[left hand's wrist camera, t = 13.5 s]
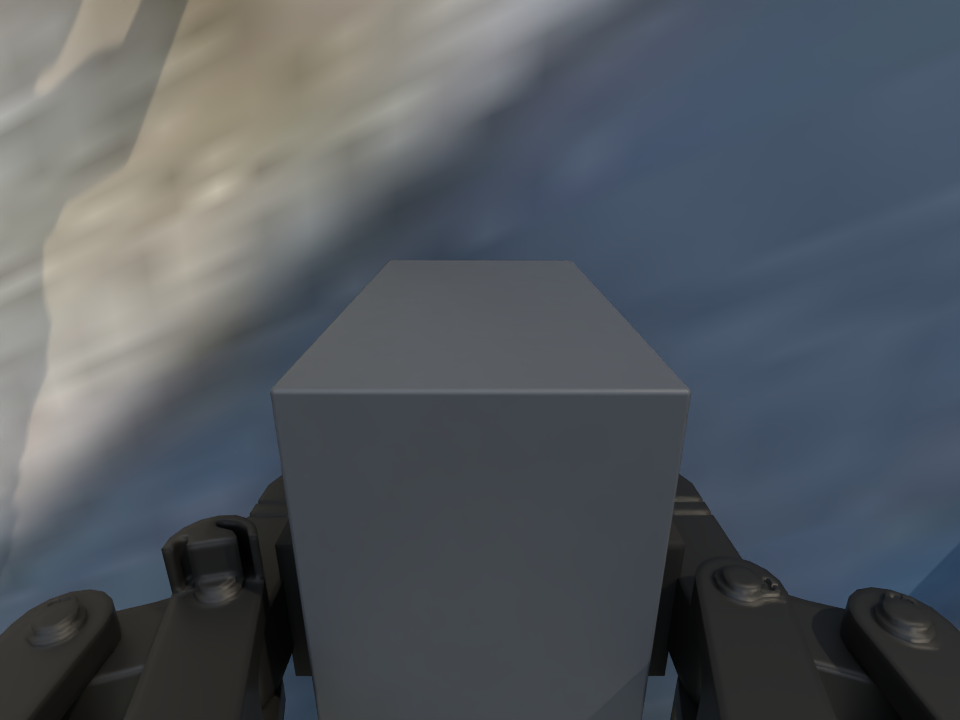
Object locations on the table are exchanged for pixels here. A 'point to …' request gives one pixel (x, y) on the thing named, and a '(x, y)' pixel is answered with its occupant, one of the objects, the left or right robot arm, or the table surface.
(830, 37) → the table surface
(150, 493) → the table surface
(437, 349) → the post
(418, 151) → the table surface
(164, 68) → the table surface
